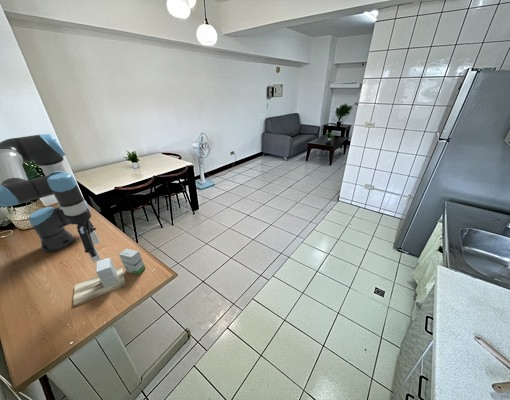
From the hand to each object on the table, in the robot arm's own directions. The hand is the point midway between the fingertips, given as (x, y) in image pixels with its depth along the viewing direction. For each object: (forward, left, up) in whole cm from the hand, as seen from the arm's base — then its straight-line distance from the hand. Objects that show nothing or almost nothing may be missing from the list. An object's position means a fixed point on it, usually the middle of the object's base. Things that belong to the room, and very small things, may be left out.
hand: (96, 251), depth 96 cm
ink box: (-1, +11, -19) cm, 22 cm away
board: (0, -4, -19) cm, 19 cm away
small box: (+1, 0, -18) cm, 18 cm away
